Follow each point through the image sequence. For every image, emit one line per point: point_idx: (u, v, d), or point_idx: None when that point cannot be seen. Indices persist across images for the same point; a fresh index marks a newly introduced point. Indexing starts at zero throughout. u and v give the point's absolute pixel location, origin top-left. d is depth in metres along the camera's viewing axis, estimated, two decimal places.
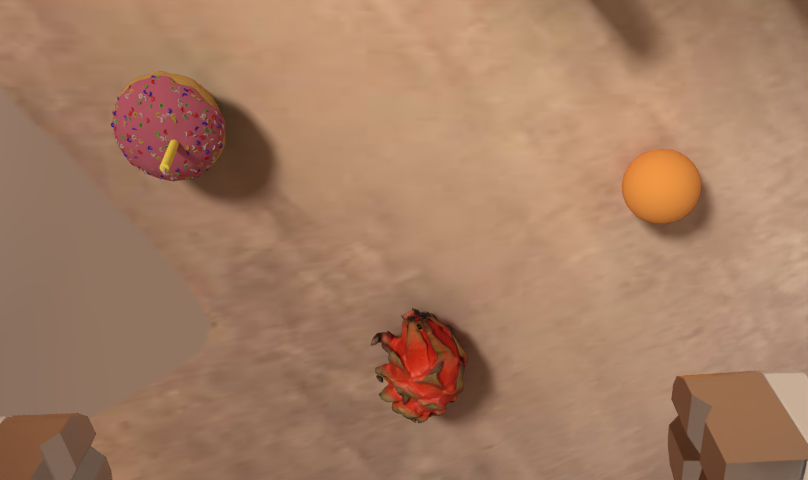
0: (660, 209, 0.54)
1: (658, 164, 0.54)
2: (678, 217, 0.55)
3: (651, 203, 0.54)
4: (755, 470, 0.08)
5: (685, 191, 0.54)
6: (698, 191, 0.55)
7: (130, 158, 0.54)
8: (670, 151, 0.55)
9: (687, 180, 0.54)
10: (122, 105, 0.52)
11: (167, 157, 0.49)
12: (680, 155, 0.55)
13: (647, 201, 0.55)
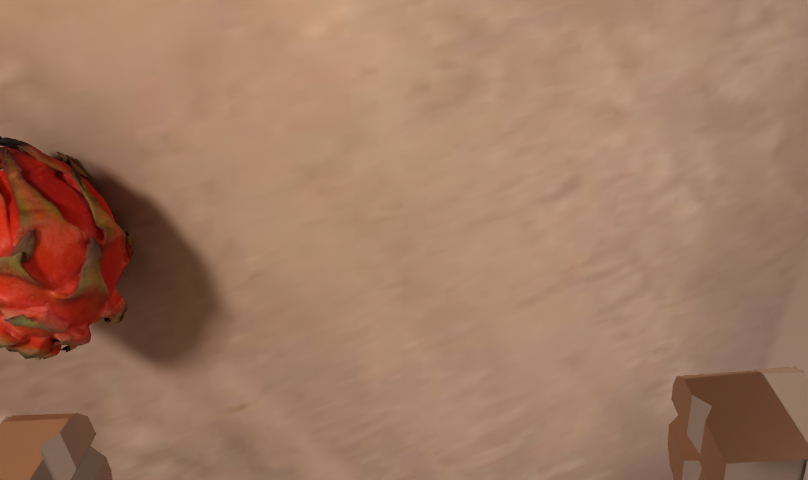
0: None
1: None
2: None
3: None
4: (755, 470, 0.08)
5: None
6: None
7: None
8: None
9: None
10: None
11: None
12: None
13: None
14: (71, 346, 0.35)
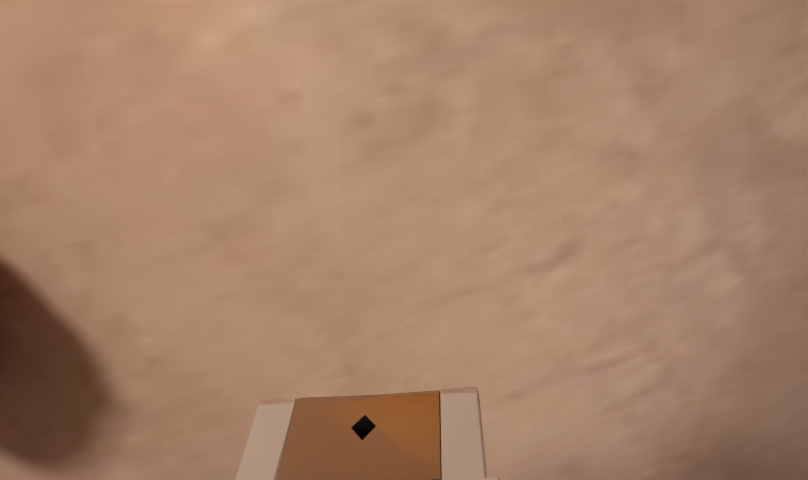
0: None
1: None
2: None
3: None
4: None
5: None
6: None
7: None
8: None
9: None
10: None
11: None
12: None
13: None
14: None
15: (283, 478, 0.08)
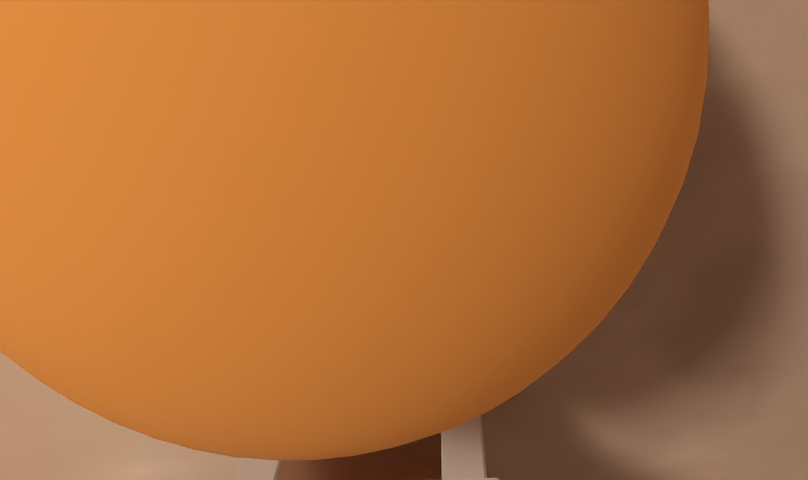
0: (86, 353, 0.04)
1: None
2: (428, 426, 0.04)
3: None
4: None
5: (411, 47, 0.03)
6: (675, 85, 0.04)
7: None
8: None
9: None
10: None
11: None
12: None
13: None
14: None
15: (283, 478, 0.08)
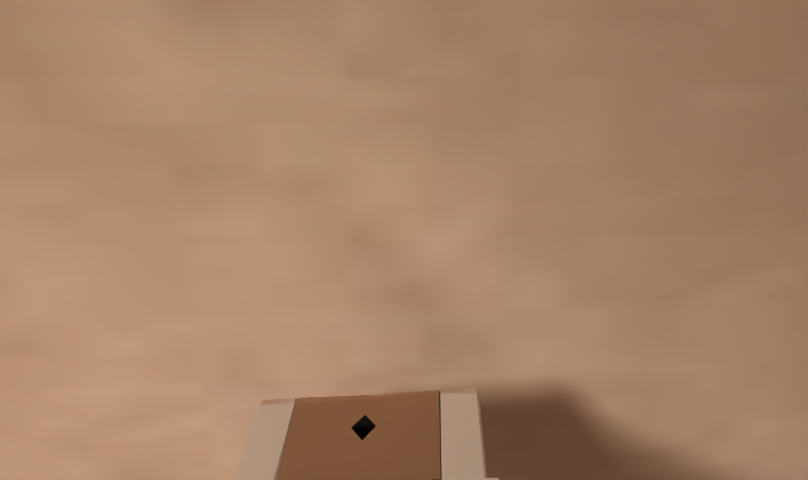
0: None
1: None
2: None
3: None
4: None
5: None
6: None
7: None
8: None
9: None
10: None
11: None
12: None
13: None
14: None
15: (283, 478, 0.08)
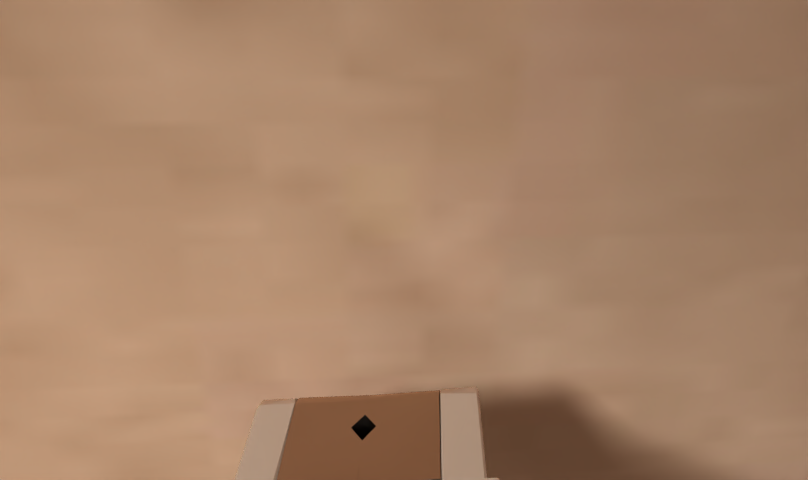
0: None
1: None
2: None
3: None
4: None
5: None
6: None
7: None
8: None
9: None
10: None
11: None
12: None
13: None
14: None
15: (283, 478, 0.08)
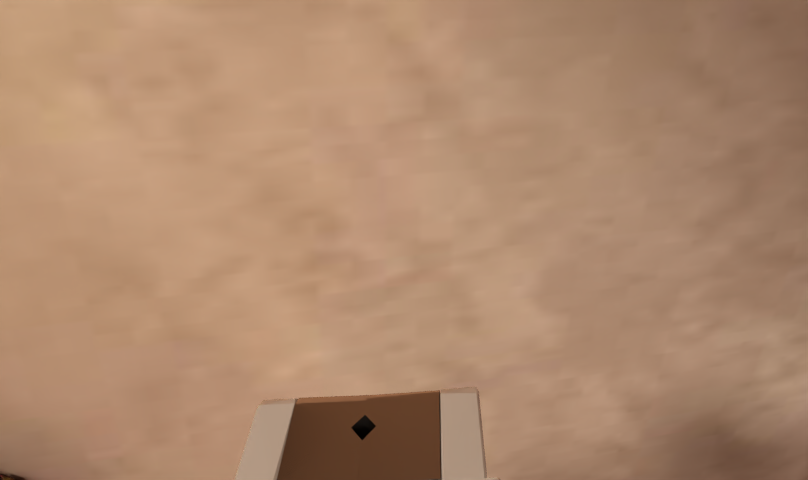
0: None
1: None
2: None
3: None
4: None
5: None
6: None
7: None
8: None
9: None
10: None
11: None
12: None
13: None
14: None
15: (283, 478, 0.08)
